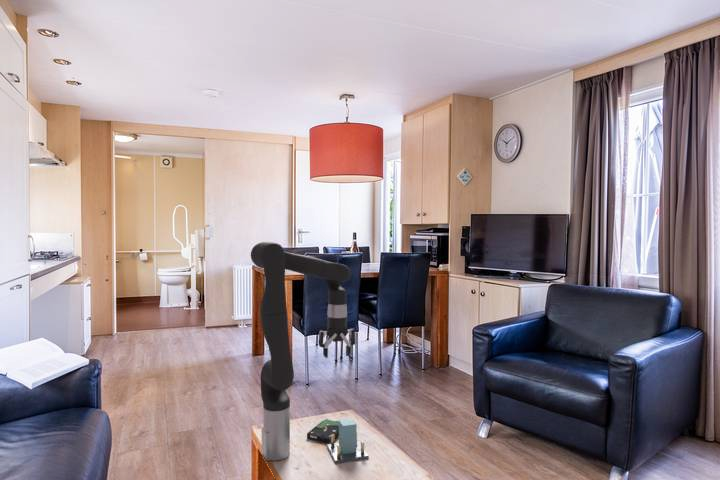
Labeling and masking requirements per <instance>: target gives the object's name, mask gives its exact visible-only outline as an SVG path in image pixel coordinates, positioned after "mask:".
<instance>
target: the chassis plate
mask: <svg viewBox="0 0 720 480" xmlns="http://www.w3.org/2000/svg"><path fill="white" fill-rule="evenodd" d="M334 436H335V435H334V434H332V435H331V444H327V443H326V444H327V445H326V448H327V450H328V452H329V454H330V455H331V458H332V460H333V462H334V464H340V463H348V462H354V461H360V460H368V459H369V458H370V457H369V456H370V455H369V454H368V452H367V451H366V449H365V442H364V441H361V442H360V441H359V440H358V431H356V452H353V453H347V454H342V452H341V446H340V445H339V442H335V440H334Z"/></svg>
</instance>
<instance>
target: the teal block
mask: <svg viewBox="0 0 720 480" xmlns="http://www.w3.org/2000/svg"><path fill="white" fill-rule="evenodd" d="M338 421H339V437H338V443H339V445H340V446H341V452H342V454H347V453H353V452H356V432H357V423H356V421H355V420H354V418H347V419H346V418H345V419H339V420H338Z"/></svg>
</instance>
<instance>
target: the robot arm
mask: <svg viewBox="0 0 720 480" xmlns="http://www.w3.org/2000/svg"><path fill="white" fill-rule="evenodd" d="M250 258H251V262H252V263H253V264H254V265H255V266H256V267H257V268H260V269H263V273H264V290H263V293H262V298H261V301H260V304H259V316H260V327H261V330H262V334H263V336H264V339H265V342H266V345H267V346H268V349H269V354H270V359H269V360H267V361H266V362H265V363H264V364H263V365H262V368H261V371H260V395H261V400H262V404H263V405H262V406H263V408H262V409H263V413H262V414H263V415H262V417H263V419H262V420H263V422H262V424H263V426H262V427H261V455H262V457H263V458H264V459H265V460H264V461H265V462H267V461H274V462H275V461H276V462H277V461H281V460H284V459H286V458H288V457H289V456H290V449H291V448H290V447H291V445H290V443H291V441H290V440H291V439H290V438H291V436H290V434H291V432H290V431H291V429H290V428H291V427H290V426H291V424H290V423H291V398H290V396H289V394H288V392H287V391H286V390H288V389H289V388H290V387H291V386H292V384H293V381H294V377H295V371H294V366H293V365H294V364H293V359H292V354H291V347H290V334H289V319H288V307H287V296H286V295H287V292H286V270H287V271H291V272H294V273H299V274H302V275H306V276H309V277H313V278H317V279H325V280H324V281H325V284H326V289H327V292H328V296H327V297H328V303H327V304H328V305H327V312H326V313H327V329H326V330H321V329H320V330H319V331H318V346H319V347H320V348H322V352H323V353H322V355H323V357H324V358H325V359H327V358H329V357H328V356H329V351H328V350H329V346H330V345H331V344H332V343H333V342H334V343H336V342H342V341H343V342H344V343H345V356H346V357H350V355H351V350H352V349H351V348H352V346H355V345H356V330H355V329H354V328H350V329H348V307H347V291H346V289H345V288H344V287H342V285H341V283H346V282H348V281H349V280H350V278H351V270H350V267H348V265H345V264H342V263H337V262H332V261H327V260H324V259H322V258H317V257H315V256H310V255H303V254H297V253H292V252H288V251H285V249H284V247H283V246H282V245H281V244H279V243H277V242H272V241H271V242H270V241H262V242H259V243H257V244H255V245H253V247H252V248H251V251H250ZM348 334H349V336H350V341H349V340H348V339H347V335H348ZM326 335H327V338H326V340H325V342H324V337H326Z"/></svg>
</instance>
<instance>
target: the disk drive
mask: <svg viewBox="0 0 720 480" xmlns="http://www.w3.org/2000/svg"><path fill="white" fill-rule="evenodd" d="M332 434H334V435H335V436H334V441H335V440H337V439H339V420H331V419H329V418H328V419H327V418H326V419H324V420H322V421H321V422H320V423H318V424H317V425H316V426H314V427H313V428H312V429H311V430H309V431H308V432H307V433H306V439H307V440H310V441H315V442H319V443H323V444H331V435H332Z"/></svg>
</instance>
